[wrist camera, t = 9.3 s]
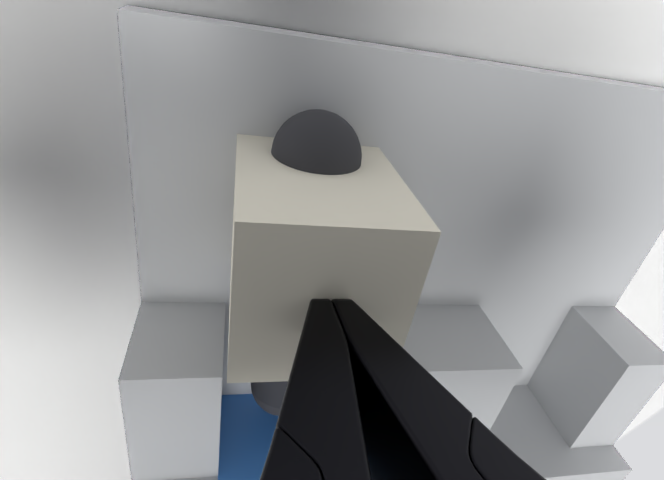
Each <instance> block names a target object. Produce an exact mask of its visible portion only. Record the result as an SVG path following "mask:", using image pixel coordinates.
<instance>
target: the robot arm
mask: <svg viewBox="0 0 664 480" xmlns="http://www.w3.org/2000/svg"><path fill="white" fill-rule="evenodd" d="M472 417H473V415H472V413H471V412H470V411H469V410H468V409H467V408H466V407H465V406H464V405H463V404H462V403H461V402H459V401H458V400H457V399H456V398H455V397H454V396H453V395H452V394H451V393H450V392H449V391H448V390H447V389H446V388H445V387H444V386H443V385H442V384H441V383H439V382H438V381H437V380H436V379H435V378H434V377H433V376H432V375H431V374H430V373H429V372H428V371H427V370H426V369H425V368H424V367H423V366H422V365H421V364H419V363H418V362H417V361H416V360H415V359H414V358H413V357H412V356H411V355H410V354H409V353H408V352H407V351H406V350H405V349H404V348H403V347H402V346H401V345H399V344H398V343H397V342H396V341H395V340H394V339H393V338H392V337H391V336H390V335H389V334H388V333H387V332H386V331H385V330H384V329H383V328H382V327H381V326H379V325H378V324H377V323H376V322H375V321H374V320H373V319H372V318H371V317H370V316H369V315H368V314H367V313H366V312H365V311H364V310H363V309H362V308H361V307H359V306H358V305H357V304H356V303H355V302H354V301H353V300H351V299H333V300H332V301H331V300H330V299H318V298H314V299H311V300H310V303H309V307H308V310H307V314H306V318H305V321H304V325H303V329H302V332H301V336H300V340H299V343H298V347H297V351H296V354H295V358H294V362H293V365H292V369H291V373H290V376H289V380H288V383H287V387H286V391H285V394H284V398H283V402H282V405H281V409H280V413H279V416H278V420H277V424H276V429H275V430H274V434H273V437H272V441H271V445H270V448H269V452H268V455H267V458H266V461H265V464H264V467H263V470H262V474H261V477H260V480H546V479H545V478H544V477H543V476H541V475H540V474H539V473H538V472H537V471H535V470H534V469H533V468H532V467H531V466H529V465H528V464H527V463H526V462H525V461H524V460H522V459H521V458H520V457H519V456H518V455H516V454H515V453H514V452H513V451H512V450H511V449H510V448H509V447H508V446H507V445H506V444H504V443H503V442H502V441H501V440H500V439H499V438H498V437H497V436H496V435H495V434H493V433H492V432H491V431H490V430H489V429H488V428H487V427H486V426H485V425H484V424H483V423H482V422H481V421H480V420H479V419H478V418H476V417H473V418H472Z"/></svg>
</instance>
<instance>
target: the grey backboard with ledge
mask: <svg viewBox="0 0 664 480" xmlns="http://www.w3.org/2000/svg"><path fill="white" fill-rule="evenodd" d="M117 17H118V29H119V41H120V53H121V65H122V77H123V89H124V101H125V113H126V125H127V136H128V148H129V160H130V172H131V184H132V196H133V208H134V220H135V232H136V244H137V256H138V268H139V280H140V292H141V305H140V308H139V312H138V315H137V318H136V322H135V325H134V329H133V332H132V335H131V339H130V342H129V346H128V349H127V352H126V356H125V359H124V363H123V366H122V369H121V373H120V376H119V380H118V382H119V389H120V397H121V404H122V412H123V419H124V427H125V434H126V441H127V449H128V456H129V464H130V471H131V479H132V480H260V477H261V474H262V470H263V467H264V464H265V461H266V458H267V455H268V452H269V448H270V445H271V441H272V437H273V434H274V430H275V429H276V424H277V420H278V416H276V415H272V414H269V413H267V412H266V411H264V410H263V409H262V408H261V407H260V406H259V405H258V404H257V402H256V401H255V399H254V397H253V394H252V391H251V383H227V364H228V335H229V306H230V278H231V252H232V231H233V209H234V187H235V166H236V144H237V134H243V135H254V136H264V137H275V135H276V133H277V131H278V130H279V129H280V127H281V126H282V124H283V123H284V122H285V121H287V120H288V119H289V118H290V117H292V116H294V115H295V114H297V113H299V112H302V111H306V110H310V109H322V110H327V111H330V112H333V113H335V114H337V115H339V116H340V117H342V118H343V119H345V120H346V121H347V122H348V123H349V124H350V125H351V126H352V128H353V129H354V131H355V132H356V134H357V136H358V139H359V142H360V145H361V146H370V147H379V148H380V150H381V151H382V152H383V154H384V155H385V156H386V158H387V159H388V160H389V162H390V163H391V164H392V166H393V167H394V168H395V170H396V171H397V173H398V174H399V175H400V177H401V178H402V179H403V181H404V182H405V183H406V185H407V186H408V187H409V189H410V190H411V192H412V193H413V194H414V196H415V197H416V198H417V200H418V201H419V202H420V204H421V205H422V206H423V208H424V209H425V210H426V212H427V213H428V215H429V216H430V217H431V219H432V220H433V221H434V223H435V224H436V225H437V227H438V228H439V229H440V231H441V235H440V238H439V241H438V244H437V247H436V250H435V253H434V256H433V259H432V262H431V265H430V268H429V271H428V274H427V277H426V280H425V283H424V286H423V289H422V292H421V295H420V298H419V301H418V304H417V307H416V310H415V313H414V316H413V319H412V322H411V326H410V329H409V332H408V335H407V338H406V341H405V344H404V347H403V348H404V349H405V350H406V351H407V352H408V353H409V354H410V355H411V356H412V357H413V358H414V359H415V360H416V361H417V362H418V363H419V364H421V365H422V366H423V367H424V368H425V369H426V370H427V371H428V372H429V373H430V374H431V375H432V376H433V377H434V378H435V379H436V380H437V381H438V382H439V383H441V384H442V385H443V386H444V387H445V388H446V389H447V390H448V391H449V392H450V393H451V394H452V395H453V396H454V397H455V398H456V399H457V400H458V401H459V402H461V403H462V404H463V405H464V406H465V407H466V408H467V409H468V410H469V411H470V412H471V413H472V415H473V417H476V418H478V419H479V420H480V421H481V422H482V423H483V424H484V425H485V426H486V427H487V428H488V429H489V430H490V431H491V432H492V433H493V434H495V435H496V436H497V437H498V438H499V439H500V440H501V441H502V442H503V443H504V444H506V445H507V446H508V447H509V448H510V449H511V450H512V451H513V452H514V453H515V454H516V455H518V456H519V457H520V458H521V459H522V460H524V461H525V462H526V463H527V464H528V465H529V466H531V467H532V468H533V469H534V470H535V471H537V472H538V473H539V474H540V475H541V476H543V477H544V478H545V479H546V480H623V479H624V478H625V477H626V476H627V475H628V474H629V473H630V472H631V470H632V469H631V468H630V467H629V465H628V464H627V462H626V461H625V460H624V459H623V458H622V456H621V455H620V453H619V452H618V451H617V450H616V448H615V447H614V446H613V445H614V443H615V442H616V441H617V440H618V438H619V437H620V436H621V435H622V433H623V432H624V431H625V430H626V428H627V427H628V426H629V425H630V423H631V422H632V421H633V419H634V418H635V417H636V416H637V414H638V413H639V412H640V411H641V409H642V408H643V407H644V406H645V404H646V403H647V402H648V401H649V399H650V398H651V397H652V396H653V394H654V393H655V392H656V391H657V389H658V388H659V387H660V386H661V384H662V383H663V382H664V352H663V351H662V350H661V349H660V348H659V347H658V346H657V345H656V344H655V343H654V342H652V341H651V340H650V339H649V338H648V337H647V336H646V335H645V334H644V333H643V332H642V331H641V330H640V329H638V328H637V327H636V326H635V325H634V324H633V323H632V322H631V321H630V320H629V319H628V318H627V317H625V316H624V315H623V314H622V313H621V312H620V311H619V310H618V309H617V308H616V307H615V305H616V303H617V302H618V300H619V299H620V297H621V296H622V294H623V292H624V291H625V289H626V288H627V286H628V285H629V283H630V281H631V280H632V278H633V277H634V275H635V273H636V272H637V270H638V269H639V267H640V266H641V264H642V262H643V261H644V259H645V258H646V256H647V254H648V253H649V251H650V250H651V248H652V247H653V245H654V243H655V242H656V240H657V239H658V237H659V235H660V234H661V232H662V231H663V229H664V88H663V87H656V86H650V85H643V84H637V83H630V82H624V81H618V80H611V79H605V78H598V77H592V76H585V75H579V74H572V73H566V72H559V71H553V70H546V69H540V68H533V67H527V66H520V65H514V64H507V63H501V62H494V61H488V60H481V59H475V58H468V57H462V56H455V55H449V54H442V53H436V52H429V51H423V50H416V49H410V48H403V47H397V46H390V45H384V44H377V43H371V42H364V41H358V40H351V39H345V38H338V37H332V36H325V35H319V34H312V33H306V32H299V31H293V30H286V29H280V28H273V27H267V26H260V25H254V24H247V23H241V22H234V21H228V20H221V19H215V18H208V17H202V16H195V15H189V14H182V13H176V12H169V11H163V10H156V9H150V8H143V7H137V6H130V5H126V6H123V7H121V8H118V9H117ZM473 417H472V418H473Z"/></svg>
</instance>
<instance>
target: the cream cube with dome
mask: <svg viewBox="0 0 664 480" xmlns="http://www.w3.org/2000/svg"><path fill="white" fill-rule="evenodd" d="M440 235H441V231H440V229H439V228H438V227H437V225H436V224H435V223H434V221H433V220H432V219H431V217H430V216H429V215H428V213H427V212H426V210H425V209H424V208H423V206H422V205H421V204H420V202H419V201H418V200H417V198H416V197H415V196H414V194H413V193H412V192H411V190H410V189H409V187H408V186H407V185H406V183H405V182H404V181H403V179H402V178H401V177H400V175H399V174H398V173H397V171H396V170H395V168H394V167H393V166H392V164H391V163H390V162H389V160H388V159H387V158H386V156H385V155H384V154H383V152H382V151H381V150H380V148H379V147H370V146H361V145H360V142H359V139H358V136H357V134H356V132H355V131H354V129H353V128H352V126H351V125H350V124H349V123H348V122H347V121H346V120H345V119H343V118H342V117H340V116H339V115H337V114H335V113H333V112H330V111H327V110H322V109H310V110H306V111H302V112H299V113H297V114H295V115H294V116H292V117H290V118H289V119H288V120H287V121H285V122H284V123H283V124H282V126H281V127H280V129H279V130H278V131H277V133H276V135H275V137H264V136H254V135H243V134H237V144H236V166H235V187H234V209H233V231H232V252H231V278H230V306H229V335H228V364H227V383H251V391H252V394H253V397H254V399H255V401H256V402H257V404H258V405H259V406H260V407H261V408H262V409H263V410H264V411H266V412H267V413H269V414H272V415H276V416H279V413H280V409H281V405H282V402H283V398H284V394H285V391H286V387H287V383H288V380H289V376H290V373H291V369H292V365H293V362H294V358H295V354H296V351H297V347H298V343H299V340H300V336H301V332H302V329H303V325H304V321H305V318H306V314H307V310H308V307H309V303H310V300H311V299H314V298H318V299H330V300H331V301H332V300H333V299H351V300H353V301H354V302H355V303H356V304H357V305H358V306H359V307H361V308H362V309H363V310H364V311H365V312H366V313H367V314H368V315H369V316H370V317H371V318H372V319H373V320H374V321H375V322H376V323H377V324H378V325H379V326H381V327H382V328H383V329H384V330H385V331H386V332H387V333H388V334H389V335H390V336H391V337H392V338H393V339H394V340H395V341H396V342H397V343H398V344H399V345H401V346H402V347H404V344H405V341H406V338H407V335H408V332H409V329H410V326H411V322H412V319H413V316H414V313H415V310H416V307H417V304H418V301H419V298H420V295H421V292H422V289H423V286H424V283H425V280H426V277H427V274H428V271H429V268H430V265H431V262H432V259H433V256H434V253H435V250H436V247H437V244H438V241H439V238H440Z"/></svg>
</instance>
